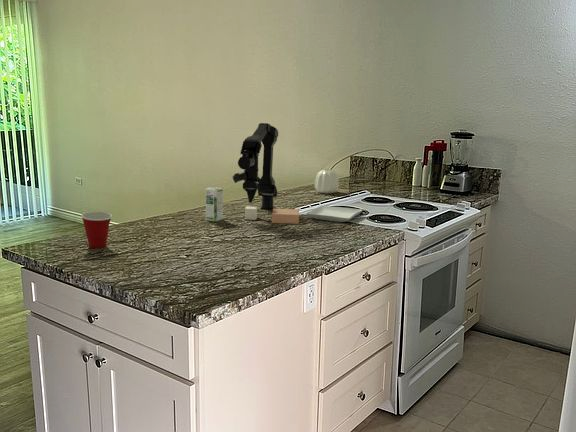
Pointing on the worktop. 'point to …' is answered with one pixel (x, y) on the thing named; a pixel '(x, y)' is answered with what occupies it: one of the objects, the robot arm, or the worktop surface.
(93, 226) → the plastic cup
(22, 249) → the worktop surface
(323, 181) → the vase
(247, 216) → the block
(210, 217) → the syrup box
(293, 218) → the stand
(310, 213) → the salad plate
